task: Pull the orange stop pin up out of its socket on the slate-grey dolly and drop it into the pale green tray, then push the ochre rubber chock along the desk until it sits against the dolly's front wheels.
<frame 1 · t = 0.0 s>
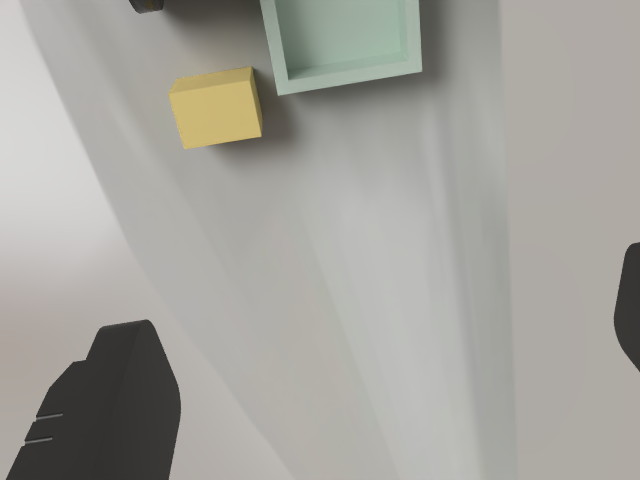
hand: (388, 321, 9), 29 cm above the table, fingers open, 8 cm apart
chock: (220, 98, 37), on the table
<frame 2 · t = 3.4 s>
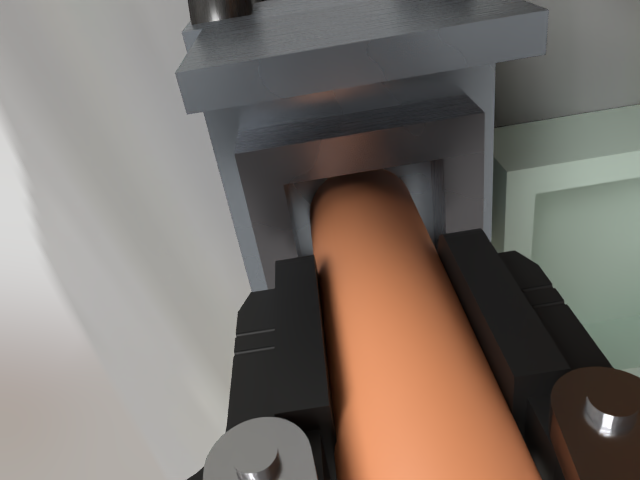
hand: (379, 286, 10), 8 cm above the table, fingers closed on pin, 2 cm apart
pin: (361, 213, 13), point 5 cm above the table, touching dolly, gripper
dolly: (338, 106, 16), on the table
tray: (599, 231, 19), on the table
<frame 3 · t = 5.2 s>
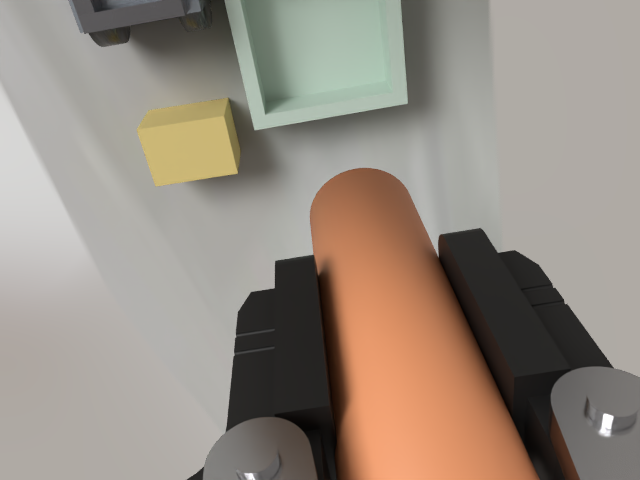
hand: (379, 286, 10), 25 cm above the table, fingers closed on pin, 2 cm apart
pin: (361, 215, 13), point 22 cm above the table, touching gripper
chock: (196, 130, 35), on the table
tray: (315, 25, 32), on the table
when the fingers open (6 cm above the table, at t = 7.2 s): pin drops 2 cm, resting on tray.
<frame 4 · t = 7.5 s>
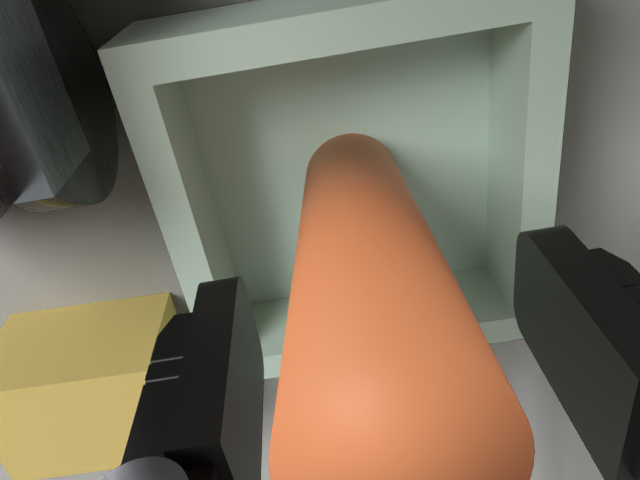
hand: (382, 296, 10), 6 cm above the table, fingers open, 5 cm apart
pin: (351, 179, 14), point 1 cm above the table, tilted 11°, touching tray
chock: (110, 343, 18), on the table
tray: (347, 165, 15), on the table
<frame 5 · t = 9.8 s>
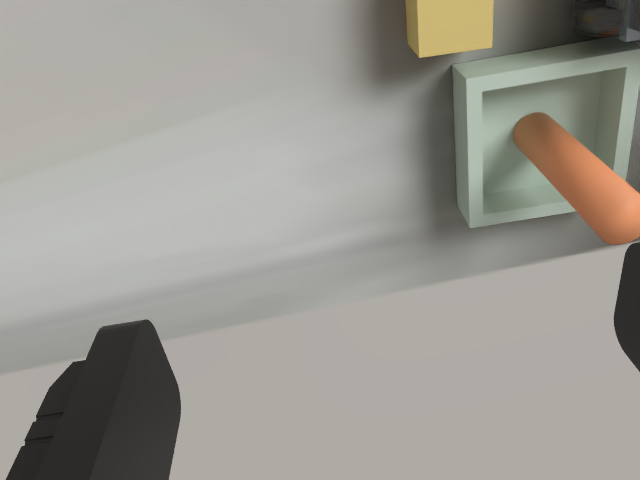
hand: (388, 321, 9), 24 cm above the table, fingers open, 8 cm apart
pin: (533, 131, 32), point 1 cm above the table, touching tray
tray: (529, 127, 32), on the table
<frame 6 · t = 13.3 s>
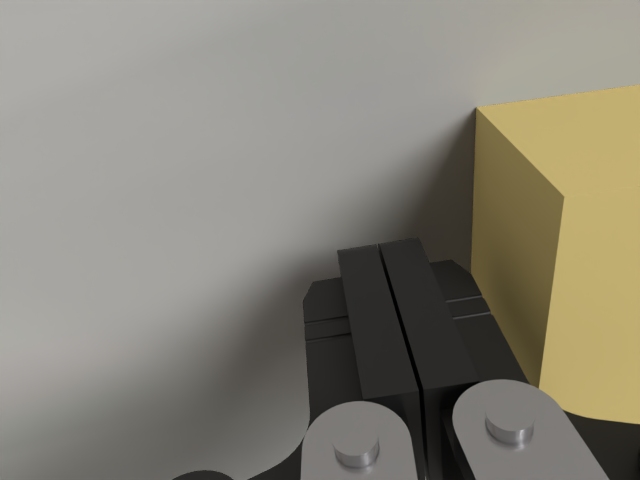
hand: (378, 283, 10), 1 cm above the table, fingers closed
chock: (560, 214, 11), on the table, touching gripper
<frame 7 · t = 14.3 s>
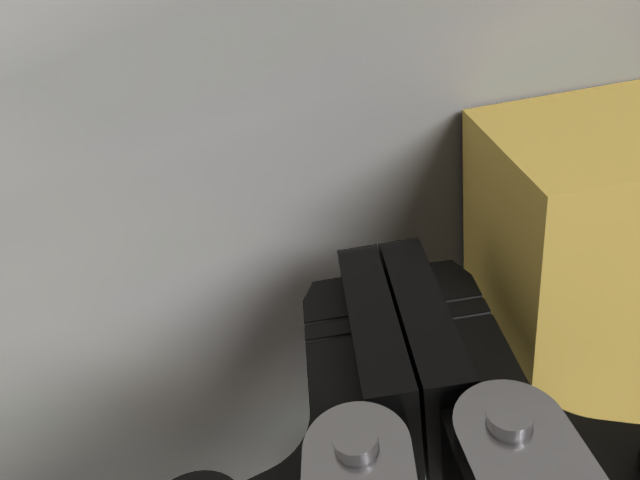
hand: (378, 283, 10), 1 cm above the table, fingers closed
chock: (550, 212, 11), on the table, touching gripper
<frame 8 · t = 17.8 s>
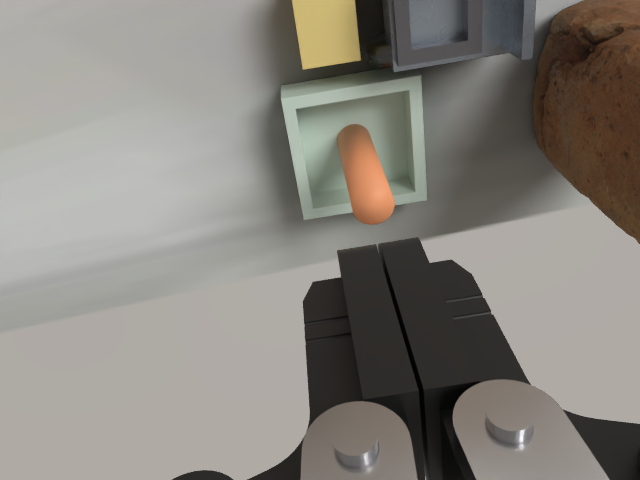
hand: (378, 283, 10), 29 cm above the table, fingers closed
pin: (353, 140, 39), point 1 cm above the table, touching tray
chock: (322, 12, 35), on the table
brown piece: (577, 73, 38), on the table
tray: (353, 136, 39), on the table
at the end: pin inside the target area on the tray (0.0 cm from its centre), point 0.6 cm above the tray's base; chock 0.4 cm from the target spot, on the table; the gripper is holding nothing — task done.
